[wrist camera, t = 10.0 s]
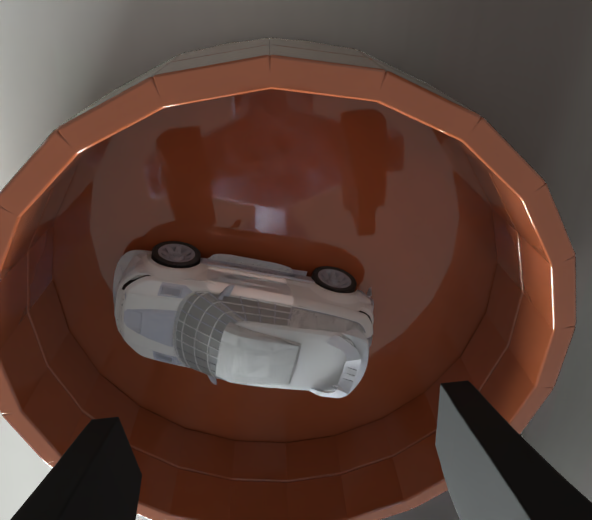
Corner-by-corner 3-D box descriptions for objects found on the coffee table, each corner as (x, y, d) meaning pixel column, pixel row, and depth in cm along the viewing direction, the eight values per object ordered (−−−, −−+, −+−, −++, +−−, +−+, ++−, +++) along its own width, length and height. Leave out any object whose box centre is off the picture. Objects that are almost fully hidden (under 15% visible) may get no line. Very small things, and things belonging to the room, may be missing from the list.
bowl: (495, 410, 19) (545, 502, 16) (132, 464, 20) (103, 564, 16) (529, -12, 12) (638, -13, 8) (-62, 95, 12) (-191, 136, 9)
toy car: (118, 227, 14) (84, 282, 11) (377, 270, 15) (399, 329, 12) (115, 325, 16) (84, 392, 13) (346, 357, 17) (360, 424, 14)
